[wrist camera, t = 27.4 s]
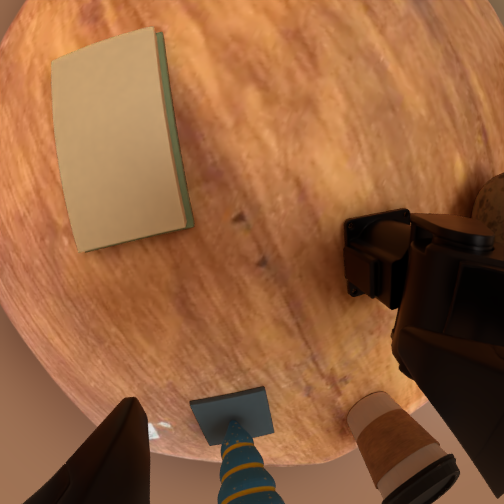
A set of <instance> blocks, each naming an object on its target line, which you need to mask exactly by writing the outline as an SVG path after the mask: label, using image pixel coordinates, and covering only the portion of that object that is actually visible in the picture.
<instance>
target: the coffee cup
mask: <svg viewBox="0 0 504 504" xmlns="http://www.w3.org/2000/svg"><path fill="white" fill-rule="evenodd" d="M347 423H348V425H349V427H350V429H351V432H352V434H353V436H354V438H355V440H356V442H357V445H358V447H359V450H360V452H361V454H362V457H363V459H364V461H365V464H366V466H367V468H368V470H369V473H370V475H371V477H372V480H373V482H374V484H375V487H376V489H379V491H380V493H381V495H382V497H383V502H382V504H432V503H433V502H434V501H436V500H437V499H438V498H440V497H441V496H442V495H443V494H445V492H447V491H448V490H449V489H450V488H451V487H452V486H453V484H454V483H455V482H456V480H457V479H458V477H459V475H460V471H459V469H458V467H457V465H456V459H455V458H454V455H453V454H447V453H446V452H445V451H444V450H443V449H442V448H441V447H440V444H439V442H438V441H436V440H435V439H434V438H433V437H432V436H431V435H430V434H429V433H428V432H427V431H426V430H425V429H424V428H423V427H422V426H421V425H419V424H418V423H417V422H416V421H415V420H414V419H413V418H412V417H411V416H410V415H409V414H408V413H407V412H406V411H404V410H403V409H402V408H401V407H400V406H399V405H398V404H397V403H396V402H395V401H394V400H393V399H392V398H391V397H390V396H389V395H388V394H387V393H385V392H376V393H373V394H371V395H368V396H366V397H365V398H363V399H362V400H360V401H359V402H358V403H357V404H355V406H354V407H353V408H352V409H351V410H350V412H349V414H348V416H347Z"/></svg>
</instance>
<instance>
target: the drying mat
mask: <svg viewBox="0 0 504 504" xmlns="http://www.w3.org/2000/svg"><path fill="white" fill-rule="evenodd" d="M190 406H191V409H192V411H193V413H194V415H195V417H196V419H197V421H198V423H199V425H200V428H201V430H202V432H203V434H204V436H205V438H206V440H207V442H208V443H209V445H210V446H212V445H219V444H222V443H223V440H224V437H225V434H226V432H227V429H228V426H229V423H230V422H231V421H232V420H235V421H237V422H238V423H239V424H240V426H241V427H242V428H244V429H245V430H246V431H247V432H248V433H249V434H250V435H251V437H252V438H255V437H259V436H263V435H267V434H272V433H274V428H273V424H272V419H271V414H270V410H269V405H268V400H267V395H266V391H265V387H264V386H263V387H259V388H255V389H251V390H246V391H242V392H237V393H232V394H227V395H222V396H217V397H212V398H206V399H200V400H194V401H190Z"/></svg>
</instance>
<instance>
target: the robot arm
mask: <svg viewBox="0 0 504 504" xmlns="http://www.w3.org/2000/svg"><path fill="white" fill-rule="evenodd" d="M404 213H405V216H404ZM410 222H411V225H410ZM350 223H352V227H351V228H349V224H350ZM344 236H345V247H344V266H345V278H346V279H347V289H348V294H349V295H351V296H352V297H356V296H359V295H362V294H367V295H368V296H369V297H371V298H372V299H373V298H377V299H378V300H379V301H381V302H382V303H383V304H385V305H386V306H387V307H388V308H390V309H391V310H394V309H397V308H398V312H397V317H396V321H395V326H394V328H393V329H392V333H391V338H392V340H393V341H392V344H391V346H392V354H393V355H394V357H395V358H396V360H397V361H398V363H399V370H400V371H401V372H402V373H403V374H405V375H406V376H407V377H409V378H410V379H412V380H414V381H415V382H416V384H417V385H418V386H419V388H420V389H421V390H422V392H423V393H424V394H425V396H426V397H427V398H428V400H429V401H430V402H431V404H432V405H433V406H434V408H435V409H436V410H437V412H438V413H439V414H440V416H441V417H442V419H443V420H444V421H445V423H446V424H447V426H448V427H449V428H450V430H451V431H452V432H453V434H454V435H455V437H456V438H457V439H458V441H459V442H460V444H461V445H462V447H463V448H464V450H465V451H466V453H467V454H468V455H469V457H470V458H471V460H472V461H473V463H474V465H475V466H476V467H477V469H478V471H479V472H480V474H481V475H482V476H483V478H484V479H485V481H486V483H487V484H488V486H489V487H490V489H491V490H492V492H493V493H494V495H495V496H496V498H497V499H498V498H499V497H500V496H501V495H502V494H504V244H502V243H498V242H494V239H495V234H494V232H492V231H491V230H490V229H489V228H488V227H487V226H486V225H484V224H483V223H482V222H481V221H480V220H476V219H472V218H467V217H463V216H458V215H449V214H425V213H410V211H409V210H408V209H405V208H402V209H397V210H391V211H386V212H381V213H375V214H370V215H365V216H360V217H355V218H349V219H347V220H346V221H345V222H344ZM354 289H355V291H354V292H352V291H353V290H354ZM23 504H150V447H149V434H148V419H147V415H146V413H145V411H144V409H143V407H142V406H141V404H140V402H139V400H138V399H137V398H136V397H126V398H124V399H122V401H121V402H120V403H119V404H118V405H117V406H116V407H115V408H114V409H113V411H112V412H111V413H110V414H109V415H108V416H107V417H106V418H105V419H104V421H103V422H102V423H101V424H100V425H99V426H98V427H97V429H95V431H94V432H93V433H92V434H91V435H90V436H89V437H88V438H87V440H86V441H85V442H84V443H83V444H82V445H81V446H80V447H79V448H78V449H77V451H76V452H75V453H74V454H73V455H72V456H71V457H70V458H69V459H68V461H67V462H66V464H64V465H63V466H62V467H61V468H60V469H59V470H58V471H57V473H55V475H54V476H53V477H52V478H51V479H50V480H49V481H48V482H46V483H45V484H44V485H43V486H42V487H41V488H40V489H39V490H38V491H37V492H36V493H34V494H33V495H32V496H31V497H30V498H29V499H27V500H26V501H25V502H24V503H23Z"/></svg>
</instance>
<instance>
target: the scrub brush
mask: <svg viewBox="0 0 504 504" xmlns="http://www.w3.org/2000/svg"><path fill="white" fill-rule="evenodd" d="M51 89H52V110H53V123H54V133H55V142H56V150H57V158H58V164H59V170H60V176H61V182H62V187H63V192H64V197H65V202H66V207H67V211H68V215H69V220H70V224H71V228H72V232H73V235H74V239H75V243H76V246H77V250H78V253H81V252H90V251H94V250H98V249H102V248H106V247H110V246H114V245H118V244H122V243H126V242H131V241H135V240H139V239H143V238H148V237H152V236H156V235H161V234H165V233H169V232H174V231H178V230H183V229H188V228H192V227H194V224H195V223H194V218H193V213H192V208H191V203H190V198H189V193H188V188H187V183H186V178H185V172H184V167H183V162H182V156H181V150H180V145H179V139H178V133H177V127H176V121H175V115H174V108H173V102H172V95H171V88H170V81H169V74H168V66H167V58H166V50H165V42H164V36H163V32H159V33H156V32H155V29H154V26H151V27H147V28H143V29H139V30H135V31H132V32H128V33H125V34H121V35H118V36H115V37H112V38H109V39H106V40H103V41H100V42H97V43H94V44H92V45H89V46H86V47H84V48H81V49H79V50H76V51H74V52H71V53H69V54H67V55H64V56H62V57H60V58H58V59H55V60H53V61H52V62H51Z"/></svg>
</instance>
